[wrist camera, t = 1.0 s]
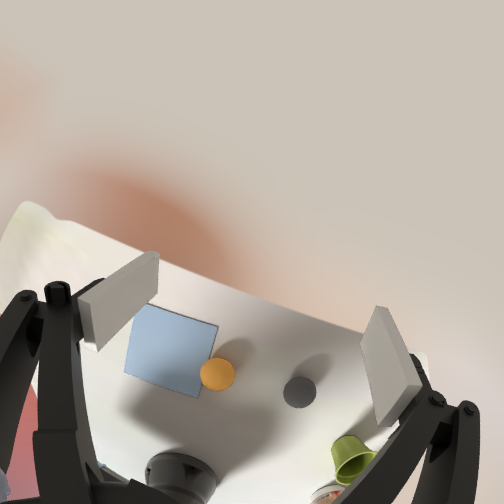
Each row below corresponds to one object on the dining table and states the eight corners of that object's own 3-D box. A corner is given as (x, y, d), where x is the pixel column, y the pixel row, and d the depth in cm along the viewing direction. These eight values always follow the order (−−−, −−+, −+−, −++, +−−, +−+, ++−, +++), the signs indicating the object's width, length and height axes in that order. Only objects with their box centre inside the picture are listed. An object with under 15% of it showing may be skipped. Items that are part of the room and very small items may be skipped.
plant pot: (371, 442, 45) (387, 464, 37) (335, 466, 45) (347, 490, 36) (354, 421, 45) (371, 444, 36) (315, 447, 45) (326, 473, 36)
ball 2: (314, 393, 45) (322, 407, 39) (285, 402, 44) (290, 417, 39) (308, 368, 45) (316, 380, 39) (277, 377, 44) (282, 391, 39)
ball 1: (238, 378, 44) (239, 392, 38) (208, 384, 44) (204, 399, 38) (229, 349, 44) (228, 361, 38) (197, 357, 44) (193, 369, 38)
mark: (217, 326, 44) (217, 327, 44) (197, 397, 44) (197, 398, 43) (138, 300, 43) (137, 300, 43) (124, 371, 43) (123, 372, 43)
